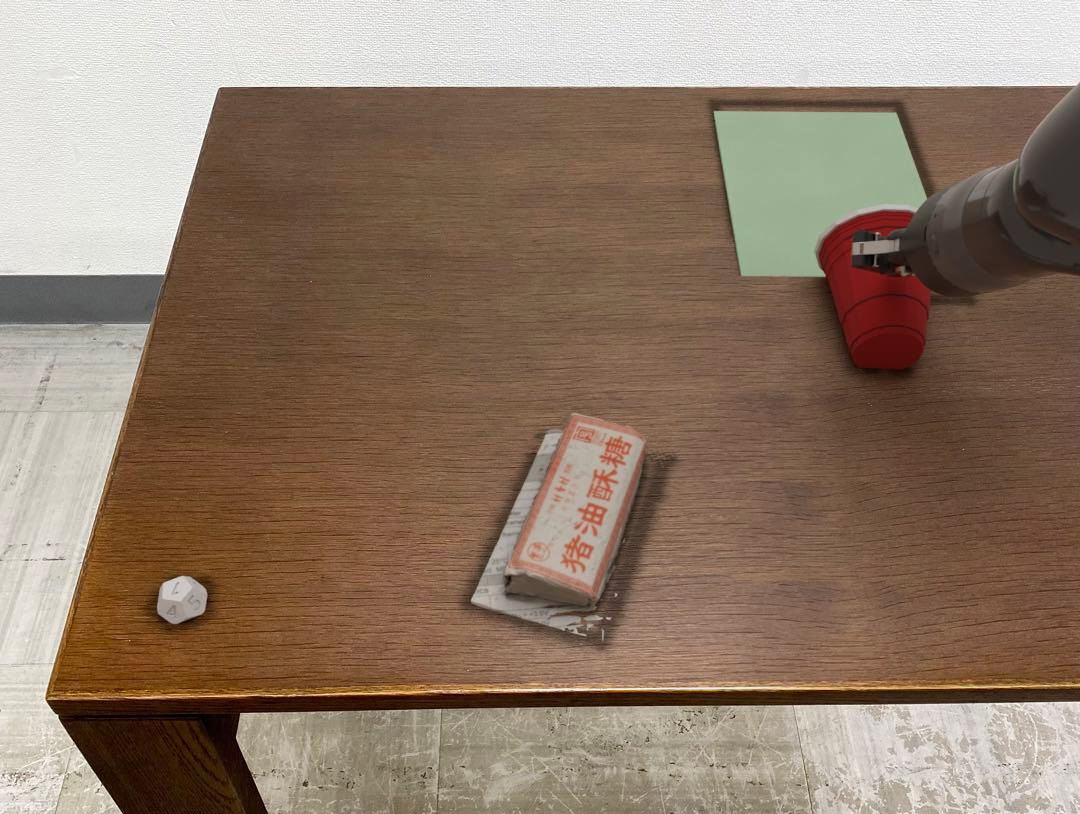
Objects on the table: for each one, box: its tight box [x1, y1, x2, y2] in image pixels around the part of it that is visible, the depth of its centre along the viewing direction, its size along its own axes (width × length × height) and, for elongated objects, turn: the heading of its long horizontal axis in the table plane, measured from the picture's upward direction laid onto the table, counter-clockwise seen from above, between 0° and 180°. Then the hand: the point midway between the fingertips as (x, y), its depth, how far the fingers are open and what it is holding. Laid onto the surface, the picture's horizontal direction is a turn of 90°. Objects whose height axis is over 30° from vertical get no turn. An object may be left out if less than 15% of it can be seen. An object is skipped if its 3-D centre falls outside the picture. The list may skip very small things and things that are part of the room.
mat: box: [713, 110, 928, 278], centre depth 103 cm, size 20×32×1 cm, turn 0°
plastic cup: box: [814, 204, 932, 370], centre depth 88 cm, size 11×11×12 cm
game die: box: [156, 575, 208, 625], centre depth 73 cm, size 4×4×3 cm
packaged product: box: [470, 412, 648, 642], centre depth 77 cm, size 18×5×10 cm
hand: (895, 263), depth 83 cm, fingers closed
